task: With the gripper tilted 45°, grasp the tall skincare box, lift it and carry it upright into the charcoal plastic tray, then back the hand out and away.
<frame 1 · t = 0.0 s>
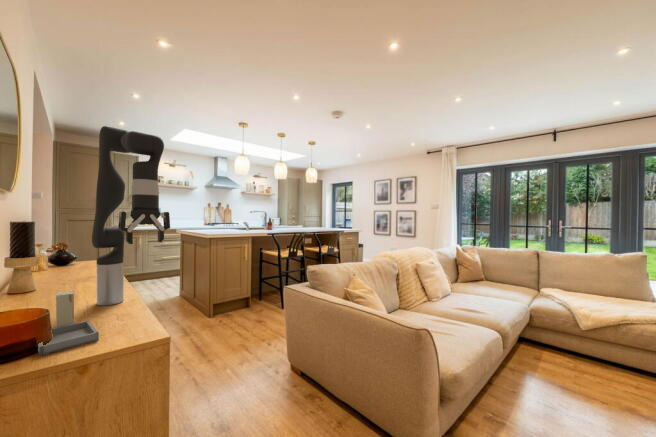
hand: (145, 243, 92), 29 cm above the table, tool pointing down, fingers open, 8 cm apart
skincare box: (65, 329, 94), on the table
tray: (66, 340, 85), on the table
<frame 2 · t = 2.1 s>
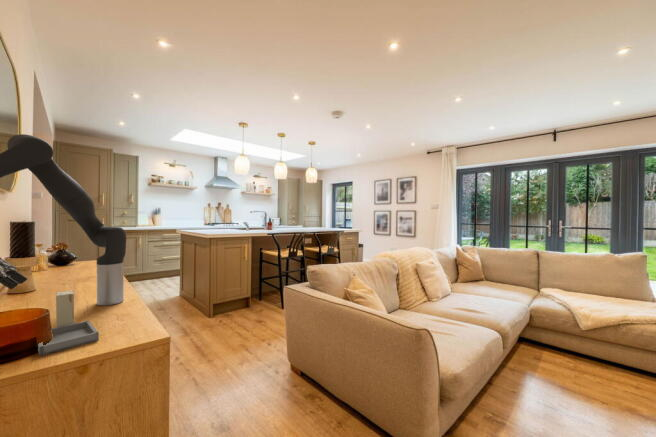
hand: (20, 284, 87), 17 cm above the table, tool tilted 45°, fingers open, 8 cm apart
nothing on the table moved.
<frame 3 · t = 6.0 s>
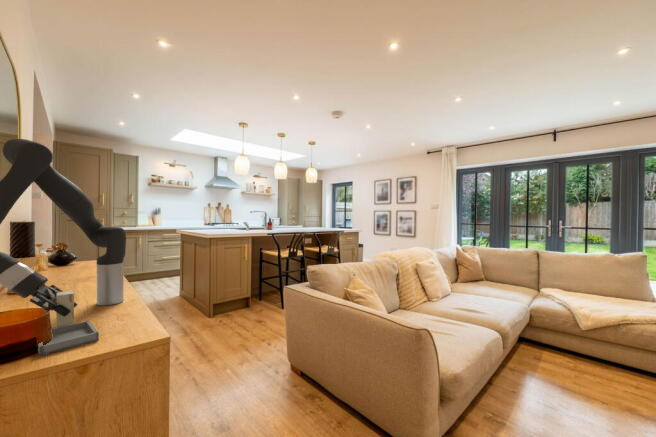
hand: (71, 310, 94), 6 cm above the table, tool tilted 45°, fingers closed on skincare box, 7 cm apart
skincare box: (65, 329, 94), on the table, touching gripper
when the fingers open (8 cm above the table, at t = 12.3 s): skincare box drops 1 cm, resting on tray.
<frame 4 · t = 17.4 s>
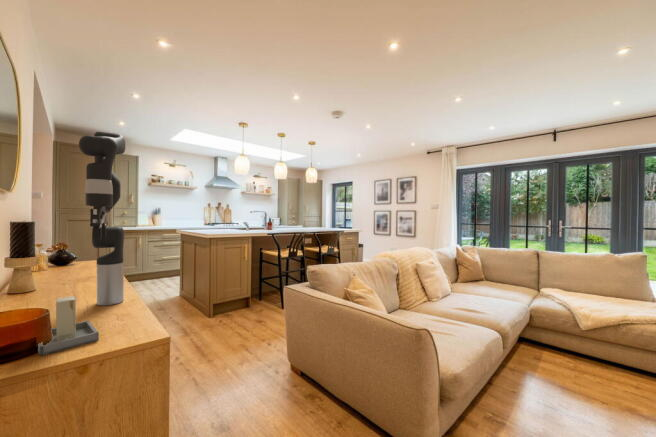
hand: (99, 238, 99), 30 cm above the table, tool pointing down, fingers open, 8 cm apart
skincare box: (66, 338, 85), resting on tray
at the end: skincare box inside the target area on the tray (0.3 cm from its centre), point 0.4 cm above the tray's base; skincare box tilted 0°; the gripper is holding nothing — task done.
